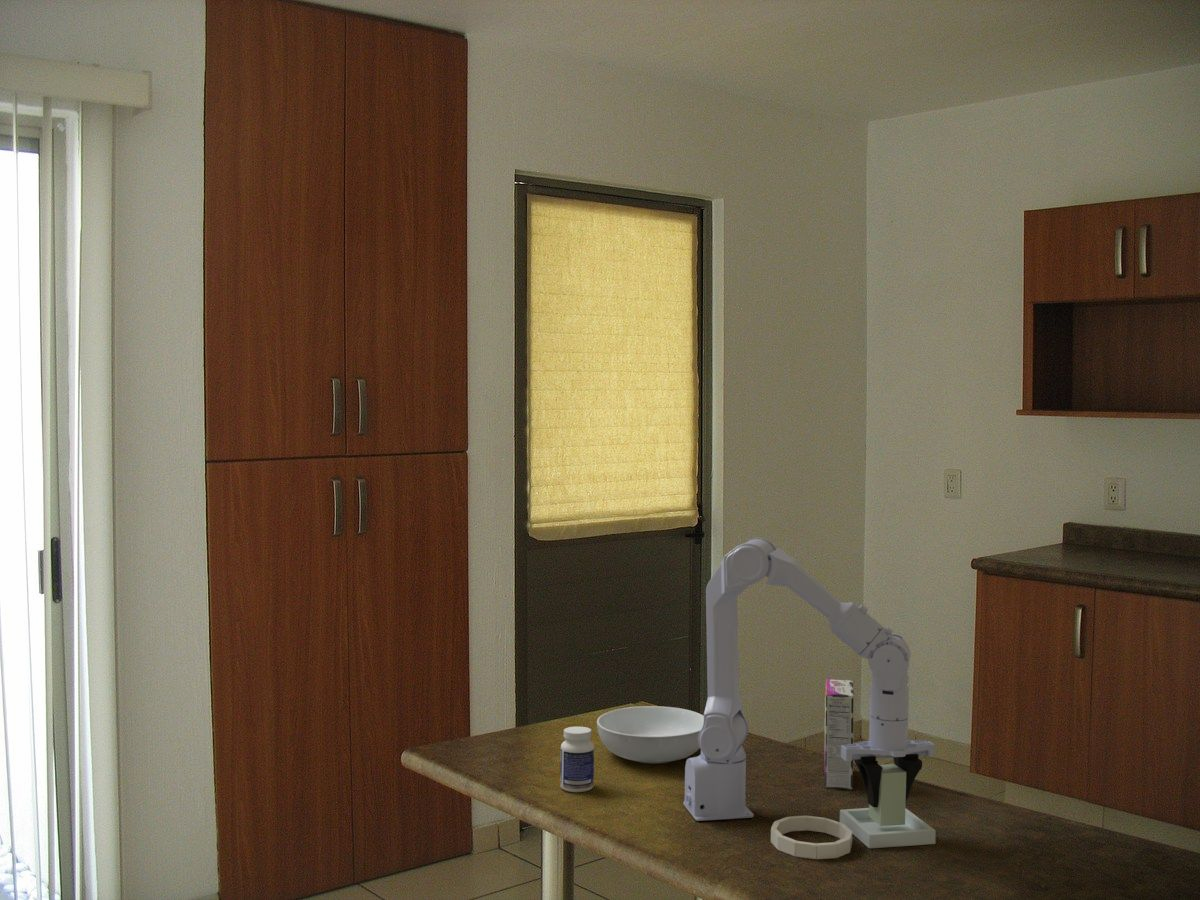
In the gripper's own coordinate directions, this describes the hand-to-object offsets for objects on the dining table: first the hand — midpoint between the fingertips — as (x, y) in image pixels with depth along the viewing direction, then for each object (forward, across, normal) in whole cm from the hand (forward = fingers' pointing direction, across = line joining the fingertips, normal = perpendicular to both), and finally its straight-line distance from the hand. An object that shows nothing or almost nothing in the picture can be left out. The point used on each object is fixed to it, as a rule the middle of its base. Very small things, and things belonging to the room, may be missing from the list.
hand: (886, 804), depth 170 cm
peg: (+2, 0, 0) cm, 3 cm away
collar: (+4, -13, -2) cm, 14 cm away
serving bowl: (+5, -26, +43) cm, 50 cm away
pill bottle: (+5, -43, +28) cm, 52 cm away
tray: (+4, 0, 0) cm, 4 cm away
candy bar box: (+5, +3, +25) cm, 26 cm away
